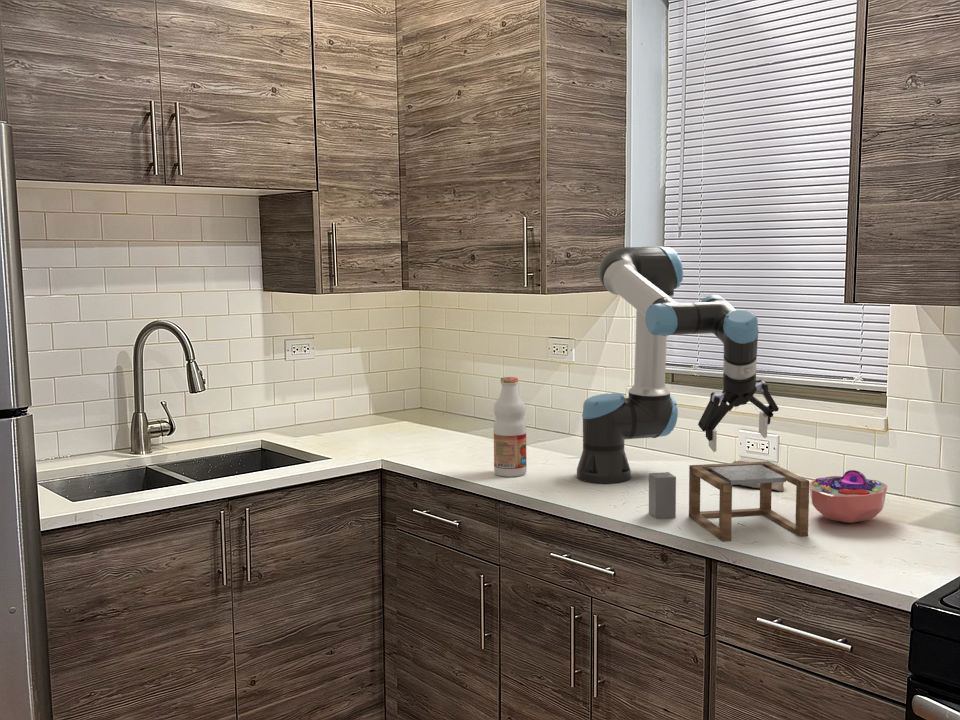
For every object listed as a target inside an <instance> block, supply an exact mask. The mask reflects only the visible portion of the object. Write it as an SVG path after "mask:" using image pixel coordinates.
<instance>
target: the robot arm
mask: <svg viewBox="0 0 960 720" xmlns="http://www.w3.org/2000/svg"><path fill="white" fill-rule="evenodd" d="M683 278H684V268H683V263H682V260H681V257H680V256H679V254H678V253H677V251H676V250H675V249H674V248H672V247H669V246H659V245H656V246H633V247H632V246H631V247H629V246H624V247H623V246H622V247H617V248H615V249H613V250H611V251H609V252H608V253H607V254H606V255H604V257H603V258H602V260H601V261H600V264H599V265H598V279H599V282H600V284H601V285H602V286H603V287H604V288H605V290H607V291H608V292H609V293H611V294H612V295H619V296H620V297H621V298H622V299H623V300H625V301H626V302H627V303H628V304H629V305H631V306H632V307H633V308H634V309H635V310H636V317H635V344H634V345H635V348H634V349H635V351H634V353H635V354H634V381H633V382H634V384H633V385H632V386H631V387H630V388H629V390H628V397H625V395H624V394H623V393H619V392H618V393H617V392H614V393H613V392H612V393H608V392H607V393H600V394H596V395H593V396H590V397H588V398H586V399H585V400H584V401H583V405H582V406H583V407H582V415H581V417H582V452H581V455H580V458H579V461H578V463H577V468H576V478H577V479H579V480H581V481H584V482H589V483H593V484H594V483H595V484H617V483H623V482H626V481H629V480H630V479H631V476H632V475H631V473H632V472H631V467H630V463H629V461H628V458H627V454H626V452H625V451H626V450H625V440H634V439H635V440H638V439H650V438H651V439H657V438H659V437H666V436H669V435H670V434H671V433H672V432H673V431H674V429H675V427H676V425H677V421H678V415H679V410H678V406H677V400H676V399H675V398H674V397H673V396H671V391H670V390H669V389H668V387H667V386H666V367H667V365H666V363H667V362H666V361H667V342H668V341H667V339H668V337H667V336H680V335H681V336H682V335H700V334H701V335H702V334H704V335H705V334H706V335H707V334H713V335H714V336H715V337H717V339H718V340H719V341H721V342H722V345H723V363H722V364H723V370H722V371H723V374H722V375H723V376H722V384H723V385H722V386H723V390H722V392H720V393H716V392H715V391H712V392H711V393H710V397H709V402H708V403H707V405H706V407H705V409H704V411H703V413H702V415H701V417H700V419H699V421H698V422H697V423H698V424H697V426H698V427H699V429H701V431H702V432H705V438H706V439H707V441H708V446H709V448H710V449H711V451H712V452H713V453H715V452H717V439H718V438H717V436H718V435H717V433H718V431H717V429H716V427H717V426H718V425H719V423H721V421H722V420H723V419H724V418H725V416H726V415H727V414H728V412H731V411H732V409H733V408H737V407H739V406H744V405H747V404H748V403H749V402H750V403H751V404H753V405H754V406H755V407H757V408H758V409H759V414H758V415H759V416H758V421H759V422H758V433H759V434H760V435H761V436H762V437H763V438H764V439H766V438H767V437H768V425H770V424H771V419H772V417H774V412H776V413H777V412H779V406H778V405H777V403H776V401H775V400H774V398H773V397H772V395H771V393H770V392H769V388H768V387H769V386H768V384H767V382H765V381H764V379H761V378H760V379H759V380H758V382H757V358H758V357H757V356H758V342H759V341H758V340H759V339H758V338H759V325H758V318H757V316H756V314H755V313H754V312H751V311H748V310H746V309H736V308H734V306H733V305H732V304H731V302H729V301H728V300H726V299H725V298H723V297H722V296H721V295H718V294H710V295H708V296H707V297H704V298H702V299H701V300H700V301H699V302H698V301H697V302H677V300H675V299H673V297H675V296H674V295H675V293H674V292H675V290H677V289H678V288H679V287H680V286H681V285H682V282H683V280H684V279H683ZM757 390H758V391H759V392H760V393H761V395H762V396H763V398H764V400H766V403H767V404H768V405H766V404H764V403H763V402H762V401H760V400H759V398H757V397H755V396H754V395H755V394H756V392H757Z"/></svg>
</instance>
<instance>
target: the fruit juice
mask: <svg viewBox="0 0 960 720" xmlns="http://www.w3.org/2000/svg"><path fill="white" fill-rule="evenodd" d="M518 379H519V378H518V377H516V376H506V377H505V376H503V377H501V378H500V384H501V391H500V394H499V397H497V400H496V401H495V402H494V406H493V413H494V416H495V421H494V424H493V471H494V474H495V475H497V476H499V477H504V478H516V477H522V476H524V475H526V473H527V424H526V421H525V414H526V403H525V402H524V400H523V399H522V398H521V396H520V394H519V391H518V386H517V385H518V384H519V383H518V382H519V380H518Z"/></svg>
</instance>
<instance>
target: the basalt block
mask: <svg viewBox="0 0 960 720" xmlns="http://www.w3.org/2000/svg"><path fill="white" fill-rule="evenodd" d="M676 509H677V476H676V475H674V474H672V473H671V472H670V471H668V472H667V471H666V472H665V471H663V472H649V473H648V514H649V515H650V516H651V517H652V518H654V520H660V519H661V520H662V519H675V518H677V517H676V516H677V515H676V511H677V510H676Z"/></svg>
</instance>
